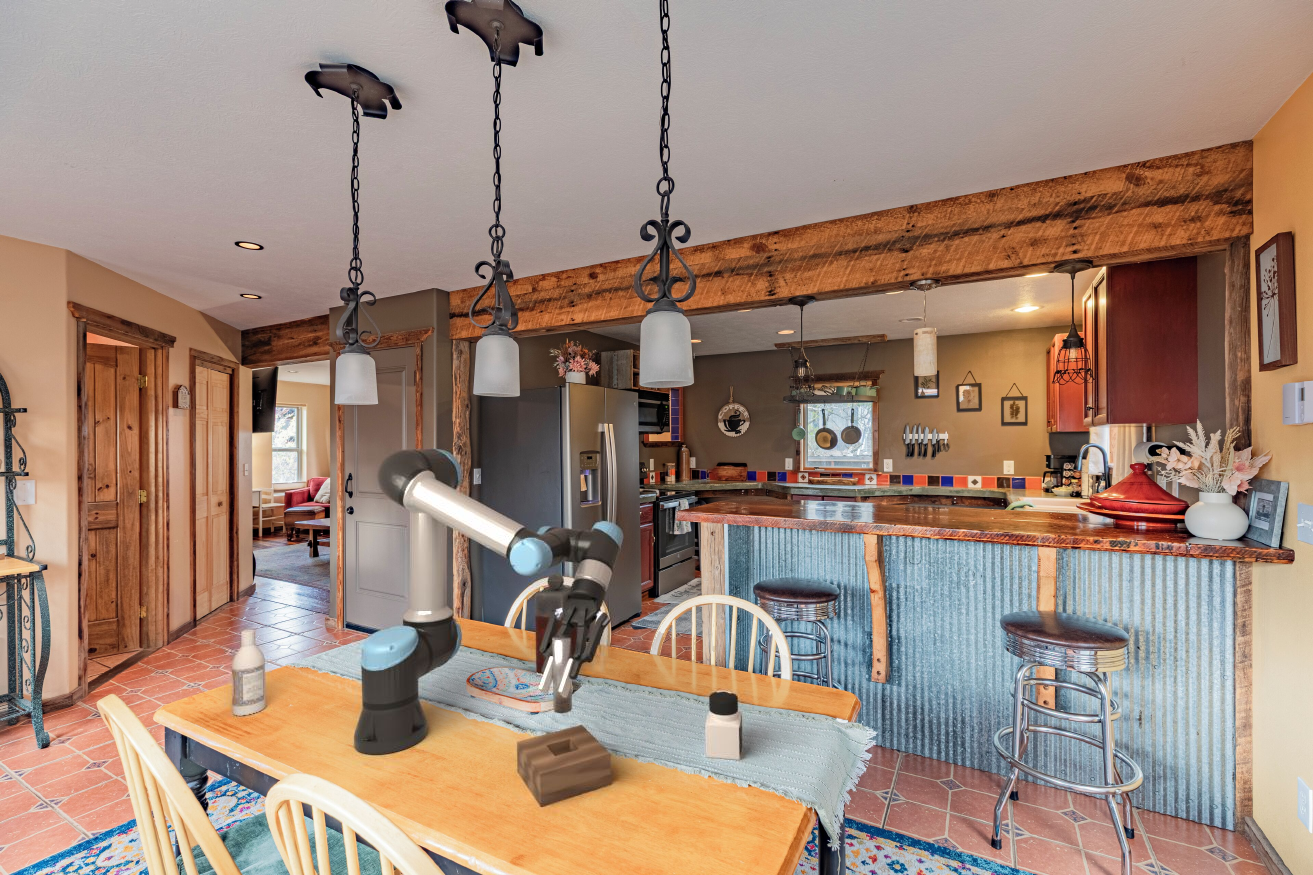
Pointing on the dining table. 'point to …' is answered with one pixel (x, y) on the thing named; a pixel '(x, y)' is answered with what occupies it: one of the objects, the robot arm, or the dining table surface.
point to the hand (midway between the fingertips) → (552, 692)
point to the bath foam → (248, 677)
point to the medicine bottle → (723, 726)
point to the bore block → (563, 764)
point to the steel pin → (561, 672)
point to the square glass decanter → (543, 603)
